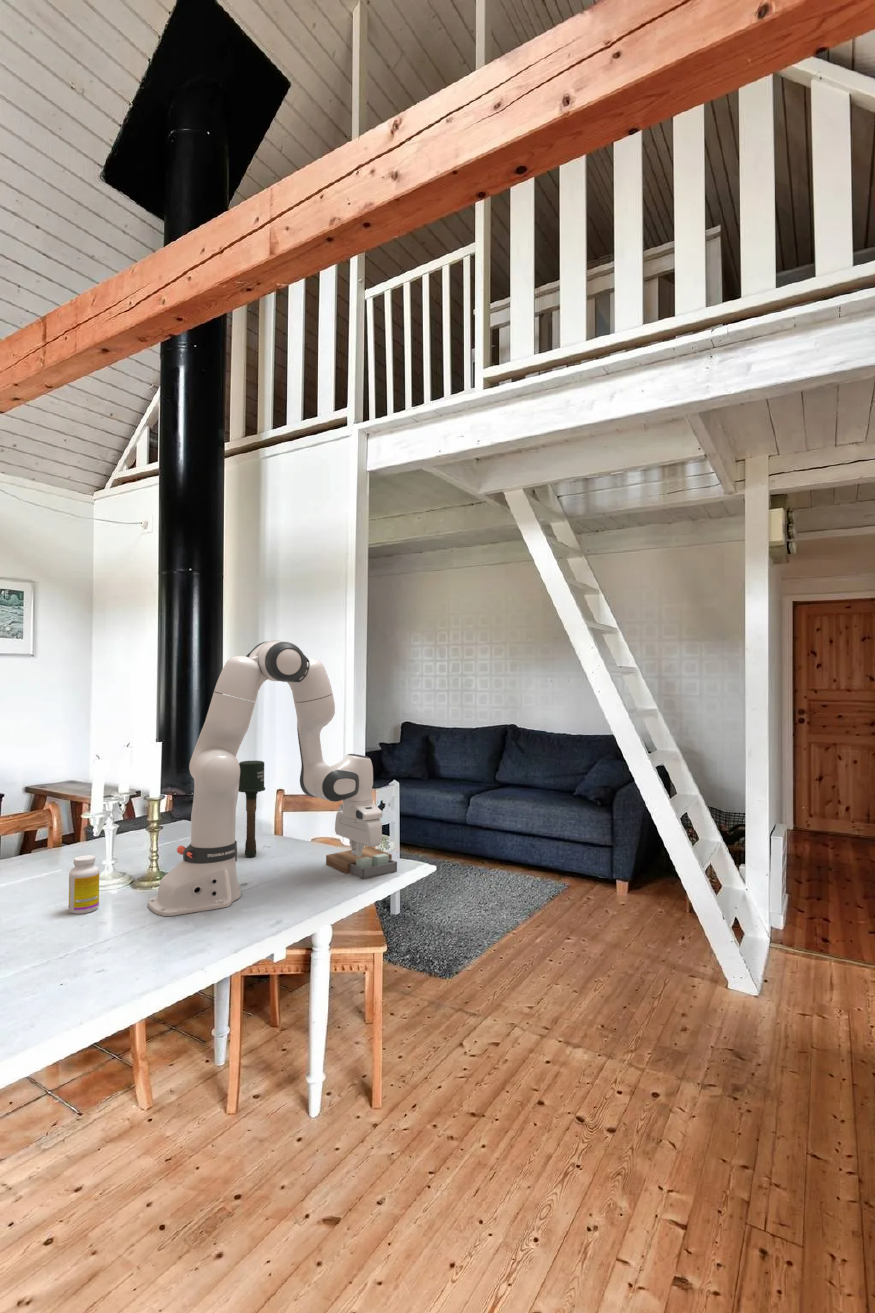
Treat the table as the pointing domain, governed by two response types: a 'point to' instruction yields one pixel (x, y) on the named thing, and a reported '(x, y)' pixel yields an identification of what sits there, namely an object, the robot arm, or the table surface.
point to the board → (350, 858)
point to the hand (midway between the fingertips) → (356, 855)
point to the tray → (373, 870)
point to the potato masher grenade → (251, 798)
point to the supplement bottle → (84, 885)
